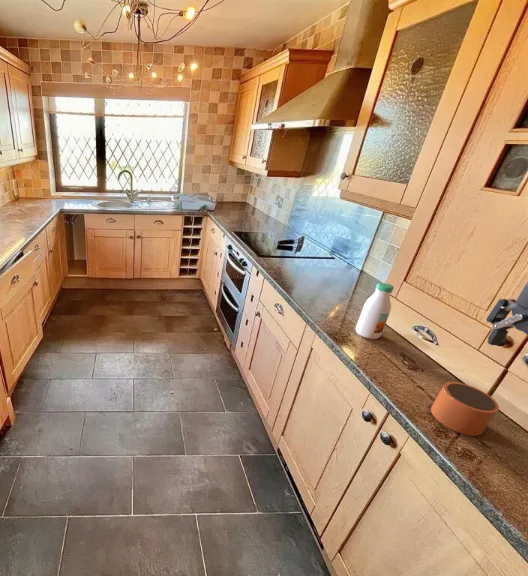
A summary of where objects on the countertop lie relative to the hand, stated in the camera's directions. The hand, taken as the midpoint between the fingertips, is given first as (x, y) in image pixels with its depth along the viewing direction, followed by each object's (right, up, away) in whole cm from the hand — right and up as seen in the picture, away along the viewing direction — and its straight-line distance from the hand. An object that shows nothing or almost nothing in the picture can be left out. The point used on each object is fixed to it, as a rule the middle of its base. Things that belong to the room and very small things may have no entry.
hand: (512, 356), depth 65 cm
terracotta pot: (+3, -20, +15) cm, 24 cm away
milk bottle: (+5, -3, +49) cm, 49 cm away
